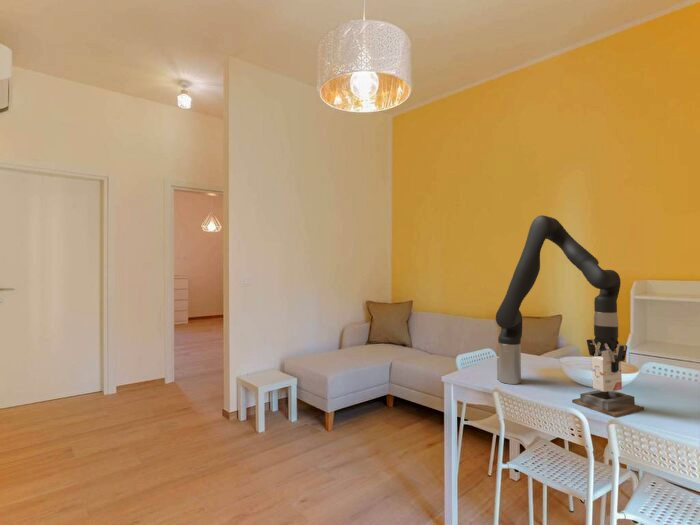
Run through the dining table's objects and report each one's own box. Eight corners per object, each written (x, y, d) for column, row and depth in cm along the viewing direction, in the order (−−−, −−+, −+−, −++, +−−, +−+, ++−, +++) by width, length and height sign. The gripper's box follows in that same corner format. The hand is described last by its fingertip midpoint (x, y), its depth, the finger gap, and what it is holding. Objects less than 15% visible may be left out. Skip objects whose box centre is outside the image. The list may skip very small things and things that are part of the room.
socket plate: (572, 402, 150) (572, 391, 150) (600, 396, 156) (600, 386, 156) (614, 417, 135) (614, 405, 135) (644, 410, 141) (644, 398, 141)
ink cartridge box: (610, 385, 149) (609, 346, 149) (622, 389, 144) (621, 349, 144) (591, 388, 147) (591, 348, 147) (603, 392, 142) (603, 351, 142)
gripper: (580, 322, 151) (581, 366, 151) (618, 327, 138) (619, 376, 138) (594, 321, 154) (594, 364, 154) (632, 326, 141) (633, 373, 140)
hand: (606, 370), depth 146 cm, fingers closed on ink cartridge box, 5 cm apart
